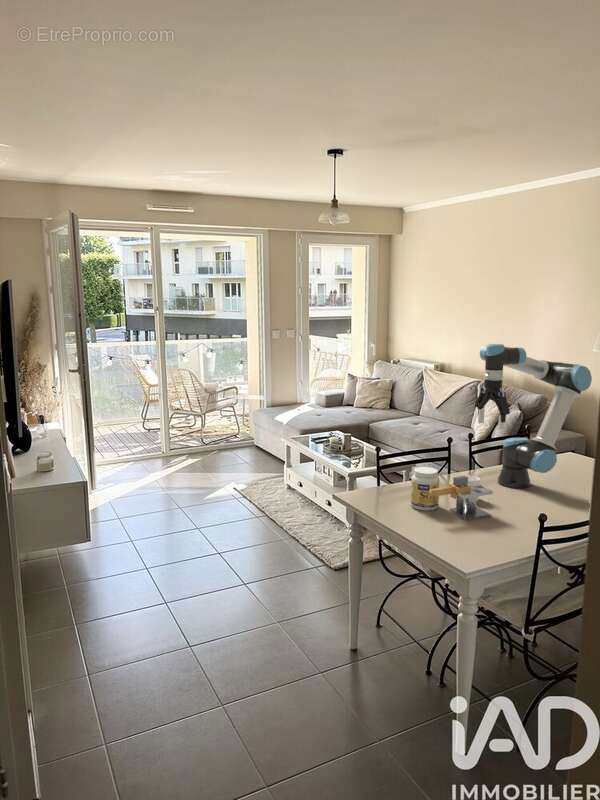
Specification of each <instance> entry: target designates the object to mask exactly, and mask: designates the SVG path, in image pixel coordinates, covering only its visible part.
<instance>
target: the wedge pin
mask: <svg viewBox="0 0 600 800" xmlns="http://www.w3.org/2000/svg"><path fill="white" fill-rule="evenodd" d="M452 479H453V483H452V484H453V485H456V486H458V487H464V485H466V484H468V477H466V476H465V475H462V476H456V477H453V478H452ZM455 501H456V503H455V505H456V507H455V508H456V514H458V515H463V509H464V506H465V501H464V499H463V498H461V497H459V496H457V495H456V499H455ZM456 514H455V515H456ZM458 515H457V516H458Z"/></svg>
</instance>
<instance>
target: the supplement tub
mask: <svg viewBox="0 0 600 800" xmlns="http://www.w3.org/2000/svg"><path fill="white" fill-rule="evenodd" d="M438 471H439V470H438V469H436V468H434V467H430V466H429V467H428V466H418V467H415V468H414V469H413V475H412V476H411V483H410V484H411V485H410V486H411V487H410V488H411V491H410V505H411V506H412V508H414V509H416V510H418V511H423V512H424V511H426V512H427V511H434V510H436V509H437V508H438V507H439V502H440V501H439V498H440V496H434V497H431V496H430V494H429V491H430V490H431V489H438V488H440V477H439V472H438Z"/></svg>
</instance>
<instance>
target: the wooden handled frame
mask: <svg viewBox="0 0 600 800" xmlns="http://www.w3.org/2000/svg"><path fill="white" fill-rule="evenodd" d="M448 486H449V487H446V486H445V487H439V488H438V489H431V490H430V491H429V494H430V496H431V497H434V496H439V497H440V496H446V495H450V496H449V497H450V498H452V499H453V500H456V498H457V495H456V492H457V493H463V492H469V491H471V487H470V486H468V485H464V487H458V486H456V485H453V483H449V484H448Z"/></svg>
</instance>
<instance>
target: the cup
mask: <svg viewBox="0 0 600 800" xmlns="http://www.w3.org/2000/svg"><path fill="white" fill-rule="evenodd" d="M464 476H466V477H468V483H472V482H474V483H477V484H479V485H481V484H480V483H481V478H480V477H479V476H476V475H469V474H468V475H464ZM479 497H480V496H478V497H477V500H476V502H478V501H479V500H480V499H479ZM464 502H465V499H464Z"/></svg>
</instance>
